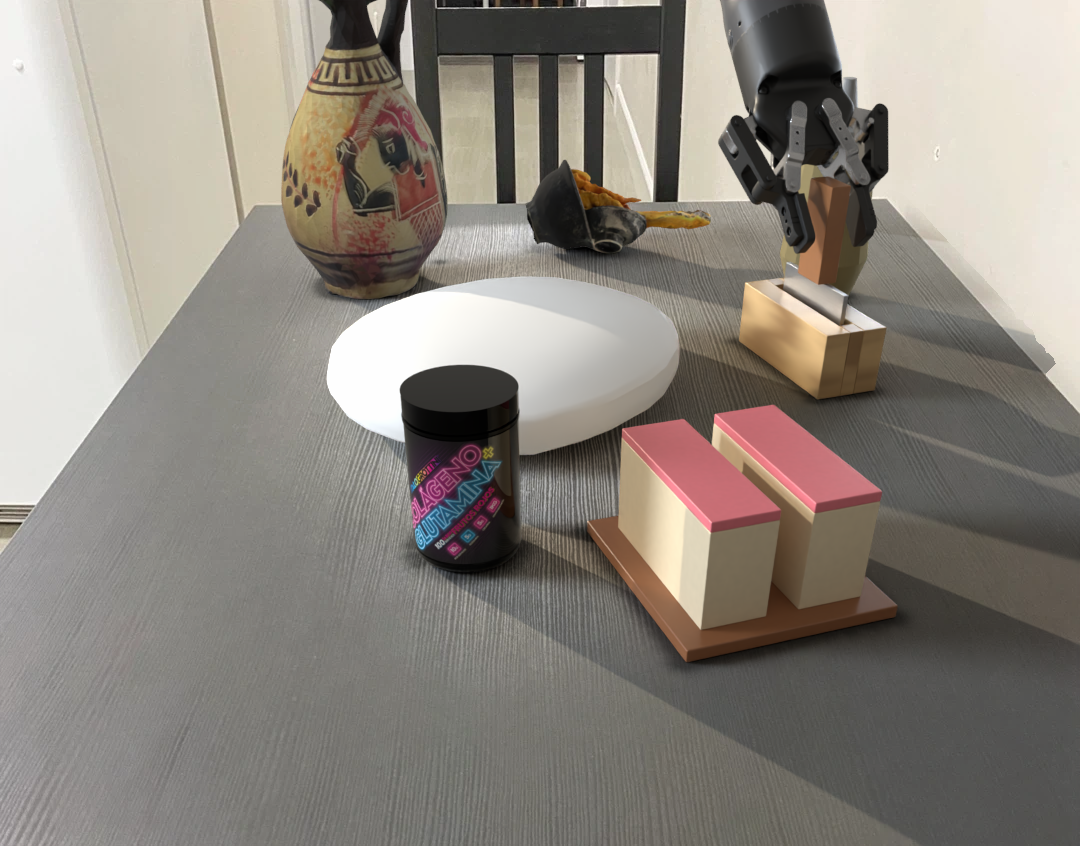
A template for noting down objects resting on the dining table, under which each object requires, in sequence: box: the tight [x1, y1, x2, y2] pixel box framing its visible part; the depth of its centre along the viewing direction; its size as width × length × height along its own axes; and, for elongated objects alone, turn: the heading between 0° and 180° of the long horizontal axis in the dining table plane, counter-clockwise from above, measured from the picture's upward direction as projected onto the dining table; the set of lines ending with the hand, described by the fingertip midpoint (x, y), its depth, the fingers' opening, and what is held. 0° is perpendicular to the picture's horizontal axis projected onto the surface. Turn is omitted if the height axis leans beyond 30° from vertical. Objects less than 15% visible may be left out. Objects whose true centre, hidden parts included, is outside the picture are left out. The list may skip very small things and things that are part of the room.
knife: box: [783, 176, 851, 326], centre depth 86 cm, size 9×2×14 cm, turn 19°
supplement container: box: [400, 365, 522, 574], centre depth 64 cm, size 7×7×10 cm
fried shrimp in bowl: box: [525, 159, 712, 254], centre depth 113 cm, size 9×11×18 cm
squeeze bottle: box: [779, 76, 874, 296], centre depth 98 cm, size 8×8×18 cm
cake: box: [586, 404, 899, 663], centre depth 63 cm, size 15×13×7 cm
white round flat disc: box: [326, 275, 681, 456], centre depth 84 cm, size 28×6×27 cm
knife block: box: [738, 277, 888, 400], centre depth 89 cm, size 13×5×5 cm, turn 19°
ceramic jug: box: [280, 0, 449, 300], centre depth 98 cm, size 17×15×30 cm
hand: (835, 243), depth 83 cm, fingers open, 4 cm apart
